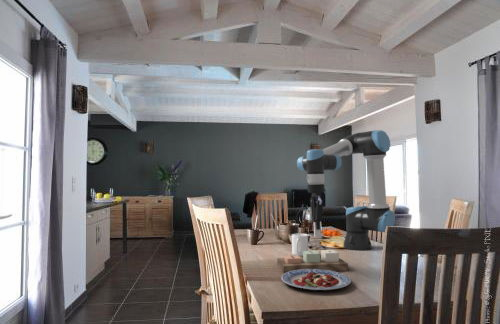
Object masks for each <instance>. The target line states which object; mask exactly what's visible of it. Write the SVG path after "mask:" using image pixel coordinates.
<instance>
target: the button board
mask: <svg viewBox="0 0 500 324" xmlns="http://www.w3.org/2000/svg"><path fill="white" fill-rule="evenodd" d="M299 257H300V258H301V263H291V264H287V263H286V262H285V257H277V260H276V261H277V266H278V268H279V267H280V268H279V269H280V270H281V272H282V273H283V274H285V273H287V272H289V271H293V270H300V269H322V270H330V271H335V272H345V271H349V263H348V262H347V261H345V260H344V259H341V257H339V262H324V261H323V260H321V256H320V262H316V263H306V262H304V261H303V256H299Z"/></svg>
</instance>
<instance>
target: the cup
mask: <svg viewBox="0 0 500 324" xmlns="http://www.w3.org/2000/svg"><path fill="white" fill-rule="evenodd" d="M303 251H309V235H308V234H307V233H293V234H291V254H292V255H298V256H299V257H303Z"/></svg>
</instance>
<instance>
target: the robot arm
mask: <svg viewBox="0 0 500 324" xmlns="http://www.w3.org/2000/svg"><path fill="white" fill-rule="evenodd" d="M390 148H391V140H390V137H389V135H388V134H387V133H386V131H384V130H379V129H378V130H377V129H376V130H370V131H362V132H355V133H353V134H351V135H347V136H346V137H343V138H342V139H340V140H339V141H338V142H337V143H334V144H331V145H330V146H328V147H325V148H323V149H321V148H319V149H317V148H316V149H315V148H314V149H313V148H312V149H308V150H307V151H306V155H303V156H299V157H298V159H297V160H296V166H297V169H298V170H299V171H302V172H307V173H306V174H307V176H306V177H305V178H306V181H307V183H308V184H307V193H309V194H311V196H310V198H309V202H310V208H311V209H310V210H311V211H310V212H311V219H312V220H313V221H312V222H313V233H314V234H313V237H315V238H321V237H322V231H321V230H322V228H321V227H322V225H321V222H323V207H324V199H323V198H322V195H321V194H322V193H325V192H326V191H325V171H337V170H340V168H341V166H342V164H343V163H342V162H343V161H342V157H343V156H346V157H347V156H350V155H356V154H362V157H363V158H364V159H365V161H366V171H367V174H366V175H367V187H368V188H367V189H368V205H364V206H363V205H361V206H351V207H347V208H346V209H345V224H346V225H345V226H346V232H345V237H344V240H343V248H344V249H348V250H352V251H353V250H354V251H366V250H371V249H372V247H373V246H372V242H371V239H370V237H369V231H373V232H379V233H386V232H385V229H386V226H393V227H394V225H395V223H396V215H395V212H394V211H393V210H391V208H390V205H389V204H388V203H387V194H386V191H387V189H386V180H385V179H386V178H385V176H386V175H385V163H384V161H385V160H384V159H385V157H386V156H387V152H389V150H390Z"/></svg>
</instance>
